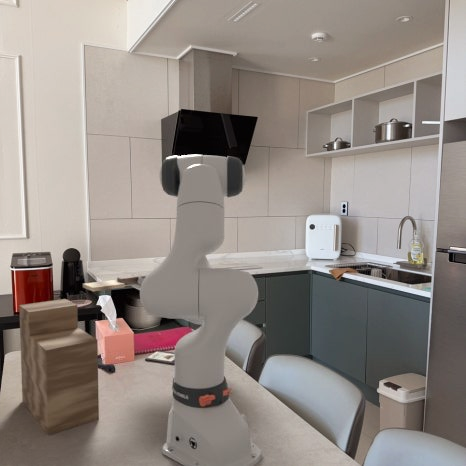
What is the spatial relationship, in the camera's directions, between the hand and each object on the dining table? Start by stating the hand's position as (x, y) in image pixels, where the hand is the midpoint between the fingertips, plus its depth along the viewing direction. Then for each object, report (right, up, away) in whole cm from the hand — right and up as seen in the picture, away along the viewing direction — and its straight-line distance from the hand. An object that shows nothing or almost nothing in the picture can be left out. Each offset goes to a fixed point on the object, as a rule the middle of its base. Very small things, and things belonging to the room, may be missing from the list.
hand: (134, 278), depth 128 cm
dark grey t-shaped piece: (-15, -31, +16) cm, 38 cm away
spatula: (-3, -2, -2) cm, 4 cm away
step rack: (-16, -32, -13) cm, 39 cm away
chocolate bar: (+9, -30, +23) cm, 39 cm away
